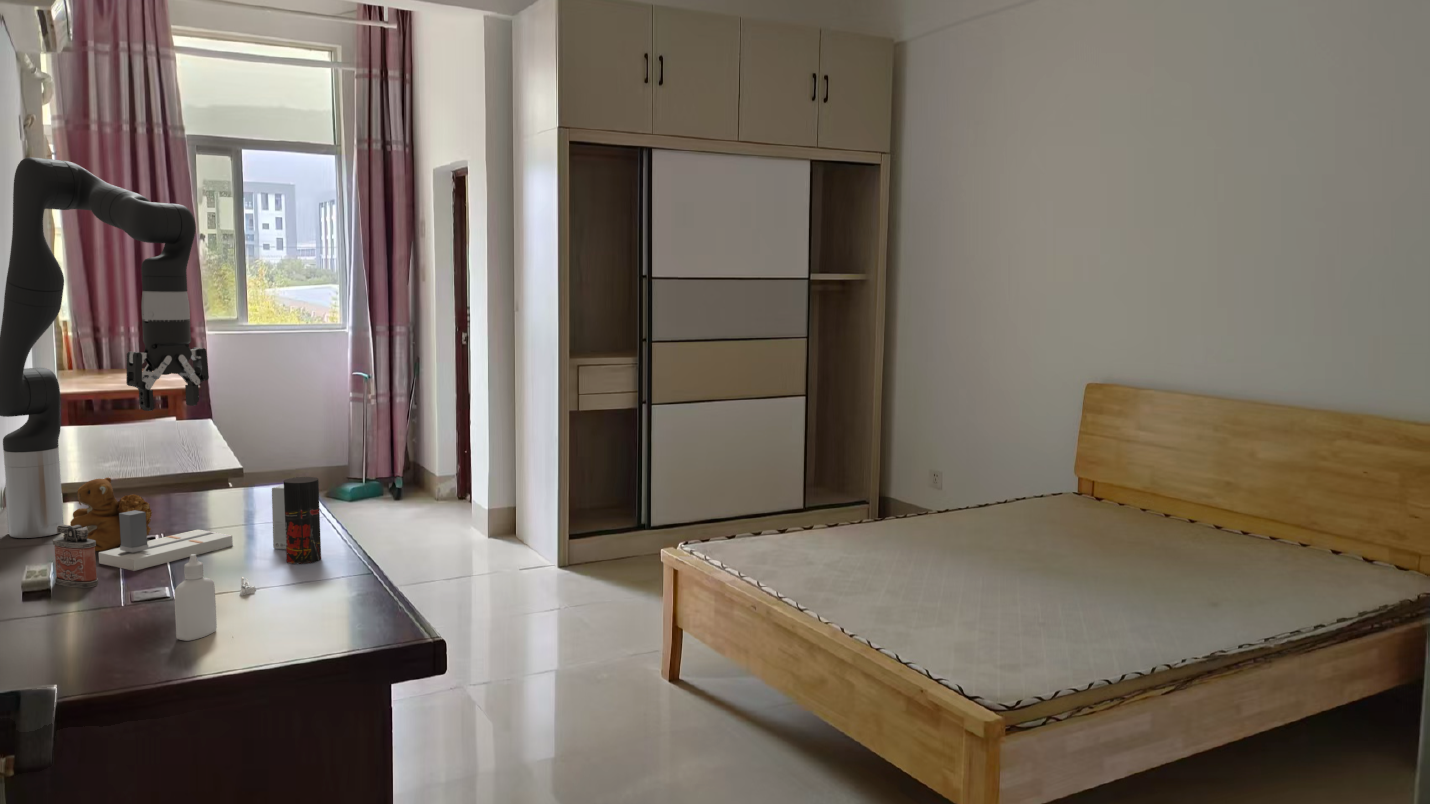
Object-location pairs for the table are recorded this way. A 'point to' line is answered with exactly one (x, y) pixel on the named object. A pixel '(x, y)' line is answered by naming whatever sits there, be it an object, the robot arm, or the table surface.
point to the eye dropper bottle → (195, 603)
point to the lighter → (75, 557)
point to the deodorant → (302, 520)
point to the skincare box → (278, 517)
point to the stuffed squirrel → (105, 512)
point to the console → (166, 549)
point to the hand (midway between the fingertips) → (170, 407)
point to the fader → (133, 531)
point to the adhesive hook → (246, 589)
